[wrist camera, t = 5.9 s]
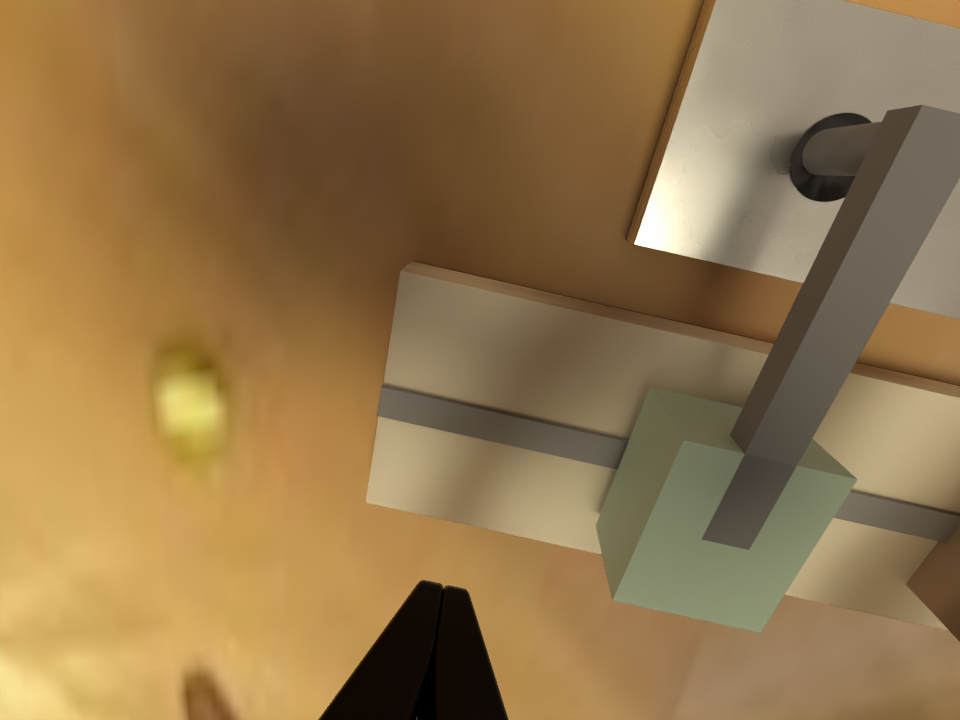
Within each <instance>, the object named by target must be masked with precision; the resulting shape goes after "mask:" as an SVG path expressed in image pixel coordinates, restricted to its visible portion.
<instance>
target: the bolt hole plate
mask: <svg viewBox="0 0 960 720" xmlns="http://www.w3.org/2000/svg"><path fill="white" fill-rule="evenodd" d="M918 105H926V106H930V107H935V108H939V109H943V110H947V111H951V112H956V113H960V28H955V27H951V26H947V25H943V24H939V23H935V22H930V21H926V20H922V19H918V18H914V17H909V16H905V15H901V14H897V13H893V12H889V11H884V10H880V9H876V8H872V7H868V6H863V5H859V4H855V3H851V2H847V1H843V0H704V3H703V6H702V9H701V12H700V15H699V18H698V21H697V24H696V27H695V31H694V34H693V37H692V40H691V43H690V46H689V49H688V52H687V55H686V58H685V61H684V64H683V67H682V70H681V73H680V76H679V80H678V83H677V86H676V89H675V92H674V95H673V98H672V101H671V104H670V107H669V110H668V113H667V116H666V119H665V122H664V125H663V129H662V132H661V135H660V138H659V141H658V144H657V147H656V150H655V153H654V156H653V159H652V162H651V165H650V168H649V171H648V174H647V178H646V181H645V184H644V187H643V190H642V193H641V196H640V199H639V202H638V205H637V208H636V211H635V214H634V217H633V220H632V223H631V227H630V230H629V233H628V236H627V240H628V241H630V242H632V243H633V244H635V245H640V246H644V247H649V248H653V249H657V250H662V251H666V252H670V253H675V254H679V255H683V256H688V257H692V258H696V259H701V260H705V261H709V262H714V263H718V264H722V265H727V266H731V267H735V268H740V269H744V270H748V271H753V272H757V273H761V274H766V275H770V276H775V277H779V278H783V279H788V280H792V281H796V282H801V283H804V281H805V279H806V277H807V275H808V273H809V271H810V269H811V267H812V265H813V263H814V260H815V258H816V256H817V254H818V252H819V250H820V248H821V246H822V244H823V242H824V240H825V238H826V236H827V234H828V232H829V230H830V228H831V225H832V223H833V221H834V219H835V217H836V215H837V213H838V211H839V209H840V207H841V205H842V203H843V201H844V199H845V197H846V195H847V193H848V190H849V188H850V186H851V184H852V182H853V180H854V178H855V176H824V175H813V174H811V173H809V172H808V171H807V170H806V169H805V167H804V165H803V161H802V155H803V150H804V148H805V146H806V144H807V142H808V141H809V140H810V139H811V138H812V137H813V136H814V135H815V134H816V133H818V132H820V131H822V130H825V129H831V128H838V127H845V126H852V125H860V124H867V123H874V122H882V120H883V118H884V116H885V114H886V112H887V110H893V109H899V108H906V107H912V106H918ZM889 303H892V304H896V305H901V306H905V307H909V308H914V309H918V310H922V311H927V312H931V313H935V314H940V315H944V316H948V317H953V318H957V319H960V179H959V181H958V182H957V184H956V186H955V188H954V189H953V191H952V193H951V195H950V196H949V198H948V200H947V202H946V204H945V205H944V207H943V209H942V211H941V212H940V214H939V216H938V218H937V219H936V221H935V223H934V225H933V226H932V228H931V230H930V232H929V234H928V235H927V237H926V239H925V241H924V242H923V244H922V246H921V248H920V249H919V251H918V253H917V255H916V257H915V258H914V260H913V262H912V264H911V265H910V267H909V269H908V271H907V272H906V274H905V276H904V278H903V279H902V281H901V283H900V285H899V287H898V288H897V290H896V292H895V294H894V295H893V297H892V299H891V301H890V302H889Z"/></svg>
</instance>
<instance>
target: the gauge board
mask: <svg viewBox="0 0 960 720" xmlns="http://www.w3.org/2000/svg"><path fill="white" fill-rule="evenodd" d="M773 345H774V344H773V343H769V342H764V341H760V340H755V339H751V338H747V337H742V336H738V335H734V334H729V333H725V332H720V331H716V330H712V329H707V328H703V327H698V326H694V325H690V324H685V323H681V322H677V321H672V320H668V319H663V318H659V317H655V316H650V315H646V314H641V313H637V312H633V311H628V310H624V309H620V308H615V307H611V306H606V305H602V304H598V303H593V302H589V301H584V300H580V299H576V298H571V297H567V296H563V295H558V294H554V293H549V292H545V291H541V290H536V289H532V288H527V287H523V286H519V285H514V284H510V283H506V282H501V281H497V280H492V279H488V278H484V277H479V276H475V275H470V274H466V273H462V272H457V271H453V270H449V269H444V268H440V267H435V266H431V265H427V264H422V263H418V262H413V261H411V262H410V263H409V264H408V265H406V266H405V267H404V268H403V269H402V270H401V271H400V276H399V283H398V289H397V296H396V303H395V309H394V316H393V323H392V330H391V336H390V343H389V350H388V356H387V363H386V370H385V377H384V383H383V386H382V388H381V394H380V401H379V408H378V415H377V416H379V417H378V424H377V430H376V437H375V444H374V450H373V457H372V464H371V470H370V477H369V484H368V491H367V497H366V503H370V504H375V505H379V506H384V507H388V508H393V509H397V510H402V511H407V512H411V513H416V514H420V515H425V516H429V517H434V518H438V519H443V520H447V521H452V522H457V523H461V524H466V525H470V526H475V527H479V528H484V529H488V530H493V531H497V532H502V533H506V534H511V535H516V536H520V537H525V538H529V539H534V540H538V541H543V542H547V543H552V544H556V545H561V546H566V547H570V548H575V549H579V550H584V551H588V552H593V553H597V554H602V552H601V548H600V543H599V539H598V534H597V530H596V524H597V521H598V518H599V516H600V513H601V511H602V508H603V506H604V503H605V501H606V498H607V495H608V493H609V490H610V488H611V485H612V483H613V480H614V478H615V475H616V472H617V470H618V467H619V465H620V462H621V460H622V457H623V455H624V452H625V450H626V447H627V444H628V442H629V439H630V437H631V434H632V432H633V429H634V427H635V424H636V421H637V419H638V416H639V414H640V411H641V409H642V406H643V404H644V401H645V398H646V396H647V393H648V391H649V388H650V387H654V388H658V389H662V390H667V391H671V392H676V393H680V394H685V395H689V396H693V397H698V398H702V399H707V400H711V401H716V402H720V403H724V404H729V405H733V406H738V407H742V408H743V407H744V405H745V403H746V400H747V398H748V396H749V394H750V392H751V390H752V388H753V386H754V384H755V382H756V380H757V378H758V376H759V374H760V372H761V370H762V368H763V365H764V363H765V361H766V359H767V357H768V355H769V353H770V351H771V349H772V347H773ZM812 439H813V440H815V441H816V442H817V443H818V444H819V445H820V446H821V447H822V448H823V449H825V450H826V451H827V452H828V453H829V454H830V455H831V456H832V457H833V458H835V459H836V460H837V461H838V462H839V463H840V464H841V465H842V466H843V467H845V468H846V469H847V470H848V471H849V472H850V473H851V474H852V475H853V476H855V477H856V478H857V479H858V480H857V481H856V483H855V484H854V486H853V488H852V489H851V491H850V492H849V494H848V496H847V497H846V499H845V500H844V502H843V503H842V505H841V507H840V508H839V510H838V511H837V513H836V514H835V516H834V518H833V519H832V521H831V522H830V524H829V525H828V527H827V529H826V530H825V532H824V533H823V535H822V537H821V538H820V540H819V541H818V543H817V544H816V546H815V548H814V549H813V551H812V552H811V554H810V555H809V557H808V559H807V560H806V562H805V563H804V565H803V566H802V568H801V570H800V571H799V573H798V574H797V576H796V578H795V579H794V581H793V582H792V584H791V585H790V587H789V589H788V590H787V592H786V593H785V595H788V596H793V597H797V598H802V599H806V600H811V601H815V602H820V603H824V604H829V605H833V606H838V607H843V608H847V609H852V610H856V611H861V612H865V613H870V614H874V615H879V616H883V617H888V618H892V619H897V620H902V621H906V622H911V623H915V624H920V625H924V626H929V627H933V628H938V629H942V630H947V631H950V632H951V633H952V634H953V635H954V636H955V637H956V638H957V639H958V640H959V641H960V386H957V385H953V384H948V383H944V382H940V381H935V380H931V379H927V378H922V377H918V376H913V375H909V374H905V373H900V372H896V371H891V370H887V369H883V368H878V367H874V366H869V365H865V364H861V363H856V362H855V364H854V366H853V368H852V370H851V371H850V373H849V375H848V377H847V378H846V380H845V382H844V384H843V385H842V387H841V389H840V391H839V392H838V394H837V396H836V398H835V400H834V401H833V403H832V405H831V407H830V408H829V410H828V412H827V414H826V415H825V417H824V419H823V421H822V423H821V424H820V426H819V428H818V430H817V431H816V433H815V435H814V437H813V438H812Z"/></svg>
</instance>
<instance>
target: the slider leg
mask: <svg viewBox="0 0 960 720" xmlns="http://www.w3.org/2000/svg"><path fill="white" fill-rule="evenodd" d="M802 161H803V165H804V167H805V169H806V170H807V171H808V172H809V173H811V174H813V175H824V176H855V178H854V180H853V182H852V184H851V186H850V188H849V190H848V193H847V195H846V197H845V199H844V201H843V203H842V205H841V207H840V209H839V211H838V213H837V215H836V217H835V219H834V221H833V223H832V225H831V228H830V230H829V232H828V234H827V236H826V238H825V240H824V242H823V244H822V246H821V248H820V250H819V252H818V254H817V256H816V258H815V260H814V263H813V265H812V267H811V269H810V271H809V273H808V275H807V277H806V279H805V281H804V283H803V285H802V287H801V289H800V291H799V293H798V295H797V298H796V300H795V302H794V304H793V306H792V308H791V310H790V312H789V314H788V316H787V318H786V320H785V322H784V324H783V326H782V328H781V330H780V333H779V335H778V337H777V339H776V341H775V343H774V345H773V347H772V349H771V351H770V353H769V355H768V357H767V359H766V361H765V363H764V365H763V368H762V370H761V372H760V374H759V376H758V378H757V380H756V382H755V384H754V386H753V388H752V390H751V392H750V394H749V396H748V398H747V400H746V403H745V405H744V407H743V408H742V407H738V406H733V405H729V404H724V403H720V402H716V401H711V400H707V399H702V398H698V397H693V396H689V395H685V394H680V393H676V392H671V391H667V390H662V389H658V388H654V387H650V388H649V391H648V393H647V396H646V398H645V401H644V404H643V406H642V409H641V411H640V414H639V416H638V419H637V421H636V424H635V427H634V429H633V432H632V434H631V437H630V439H629V442H628V444H627V447H626V450H625V452H624V455H623V457H622V460H621V462H620V465H619V467H618V470H617V472H616V475H615V478H614V480H613V483H612V485H611V488H610V490H609V493H608V495H607V498H606V501H605V503H604V506H603V508H602V511H601V513H600V516H599V518H598V521H597V524H596V530H597V534H598V539H599V543H600V548H601V552H602V557H603V561H604V565H605V570H606V574H607V579H608V583H609V587H610V592H611V596H612V601H617V602H621V603H626V604H631V605H635V606H640V607H644V608H649V609H653V610H658V611H663V612H667V613H672V614H676V615H681V616H685V617H690V618H695V619H699V620H704V621H708V622H713V623H717V624H722V625H727V626H731V627H736V628H740V629H745V630H749V631H754V632H759V633H761V631H762V630H763V628H764V626H765V625H766V623H767V622H768V620H769V619H770V617H771V615H772V614H773V612H774V611H775V609H776V607H777V606H778V604H779V603H780V601H781V600H782V598H783V596H784V595H785V593H786V592H787V590H788V589H789V587H790V585H791V584H792V582H793V581H794V579H795V578H796V576H797V574H798V573H799V571H800V570H801V568H802V566H803V565H804V563H805V562H806V560H807V559H808V557H809V555H810V554H811V552H812V551H813V549H814V548H815V546H816V544H817V543H818V541H819V540H820V538H821V537H822V535H823V533H824V532H825V530H826V529H827V527H828V525H829V524H830V522H831V521H832V519H833V518H834V516H835V514H836V513H837V511H838V510H839V508H840V507H841V505H842V503H843V502H844V500H845V499H846V497H847V496H848V494H849V492H850V491H851V489H852V488H853V486H854V484H855V483H856V481H857V480H858V479H857V478H856V477H855V476H853V475H852V474H851V473H850V472H849V471H848V470H847V469H846V468H845V467H843V466H842V465H841V464H840V463H839V462H838V461H837V460H836V459H835V458H833V457H832V456H831V455H830V454H829V453H828V452H827V451H826V450H825V449H823V448H822V447H821V446H820V445H819V444H818V443H817V442H816V441H815V440H813V439H812V438H813V437H814V435H815V433H816V431H817V430H818V428H819V426H820V424H821V423H822V421H823V419H824V417H825V415H826V414H827V412H828V410H829V408H830V407H831V405H832V403H833V401H834V400H835V398H836V396H837V394H838V392H839V391H840V389H841V387H842V385H843V384H844V382H845V380H846V378H847V377H848V375H849V373H850V371H851V370H852V368H853V366H854V364H855V362H856V361H857V359H858V357H859V355H860V354H861V352H862V350H863V348H864V347H865V345H866V343H867V341H868V340H869V338H870V336H871V334H872V332H873V331H874V329H875V327H876V325H877V324H878V322H879V320H880V318H881V317H882V315H883V313H884V311H885V309H886V308H887V306H888V304H889V302H890V301H891V299H892V297H893V295H894V294H895V292H896V290H897V288H898V287H899V285H900V283H901V281H902V279H903V278H904V276H905V274H906V272H907V271H908V269H909V267H910V265H911V264H912V262H913V260H914V258H915V257H916V255H917V253H918V251H919V249H920V248H921V246H922V244H923V242H924V241H925V239H926V237H927V235H928V234H929V232H930V230H931V228H932V226H933V225H934V223H935V221H936V219H937V218H938V216H939V214H940V212H941V211H942V209H943V207H944V205H945V204H946V202H947V200H948V198H949V196H950V195H951V193H952V191H953V189H954V188H955V186H956V184H957V182H958V181H959V179H960V113H956V112H951V111H947V110H943V109H939V108H935V107H930V106H926V105H918V106H912V107H906V108H899V109H893V110H887V112H886V114H885V116H884V118H883V120H882V122H874V123H867V124H860V125H852V126H845V127H838V128H831V129H825V130H822V131H820V132H818V133H816V134H815V135H814V136H813V137H812V138H811V139H810V140H809V141H808V142H807V144H806V146H805V148H804V150H803V155H802Z"/></svg>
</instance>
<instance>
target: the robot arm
mask: <svg viewBox="0 0 960 720" xmlns="http://www.w3.org/2000/svg"><path fill="white" fill-rule="evenodd" d="M416 718H417V719H416ZM319 720H508V717H507V714H506V710H505V707H504V704H503V701H502V698H501V694H500V691H499V688H498V685H497V682H496V678H495V675H494V672H493V669H492V665H491V662H490V659H489V656H488V653H487V649H486V646H485V643H484V640H483V637H482V633H481V630H480V627H479V624H478V621H477V617H476V614H475V611H474V608H473V604H472V601H471V598H470V595H469V593H468V591H467V590H466V589H463V588H459V587H454V586H449V585H447V586H445V587H444V589H443V586H442V584H440V583H435V582H431V581H426V580H422V581H420V582H419V583H418V584H417V585H416V587H415V588H414V589H413V591H412V592H411V594H410V595H409V596H408V598H407V599H406V600H405V602H404V603H403V605H402V606H401V607H400V609H399V610H398V611H397V613H396V614H395V615H394V617H393V618H392V620H391V621H390V622H389V624H388V625H387V626H386V628H385V629H384V631H383V632H382V633H381V635H380V636H379V637H378V639H377V640H376V642H375V643H374V644H373V646H372V647H371V648H370V650H369V651H368V652H367V654H366V655H365V657H364V658H363V659H362V661H361V662H360V663H359V665H358V666H357V668H356V669H355V670H354V672H353V673H352V674H351V676H350V677H349V678H348V680H347V681H346V683H345V684H344V685H343V687H342V688H341V689H340V691H339V692H338V694H337V695H336V696H335V698H334V699H333V700H332V702H331V703H330V705H329V706H328V707H327V709H326V710H325V711H324V713H323V714H322V715H321V717H320V718H319Z"/></svg>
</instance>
